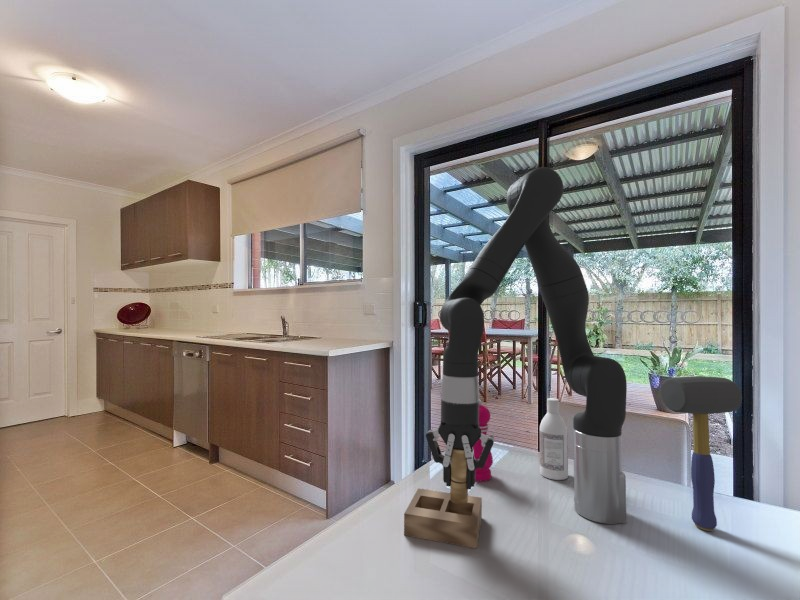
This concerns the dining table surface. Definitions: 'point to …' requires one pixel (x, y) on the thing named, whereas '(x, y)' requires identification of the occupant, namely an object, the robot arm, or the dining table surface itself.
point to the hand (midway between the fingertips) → (459, 485)
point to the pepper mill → (484, 472)
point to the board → (443, 518)
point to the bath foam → (553, 443)
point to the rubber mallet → (701, 432)
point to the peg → (458, 477)
